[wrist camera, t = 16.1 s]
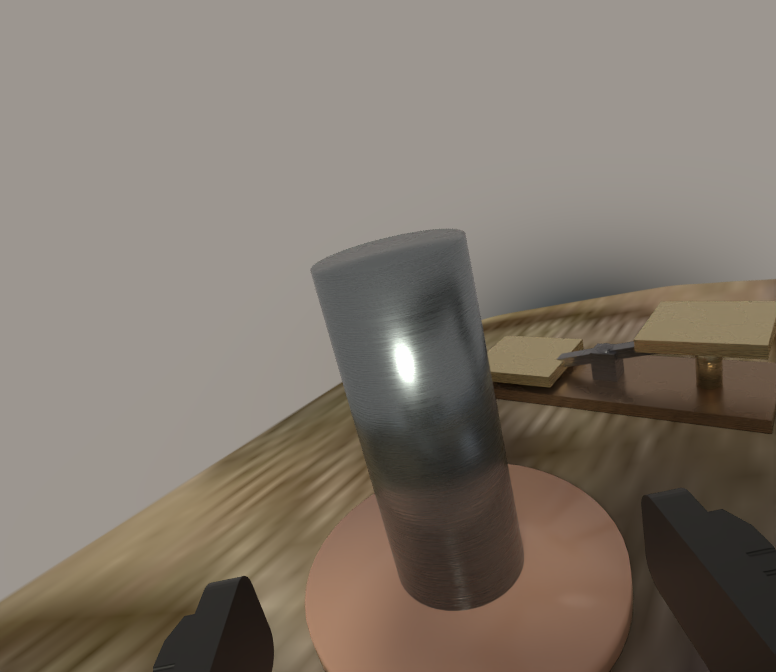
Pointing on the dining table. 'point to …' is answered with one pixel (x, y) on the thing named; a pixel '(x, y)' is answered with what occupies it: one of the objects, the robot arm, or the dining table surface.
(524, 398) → the balance
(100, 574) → the dining table surface
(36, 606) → the dining table surface
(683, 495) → the robot arm
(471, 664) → the tan round piece
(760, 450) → the dining table surface
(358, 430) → the tea canister
